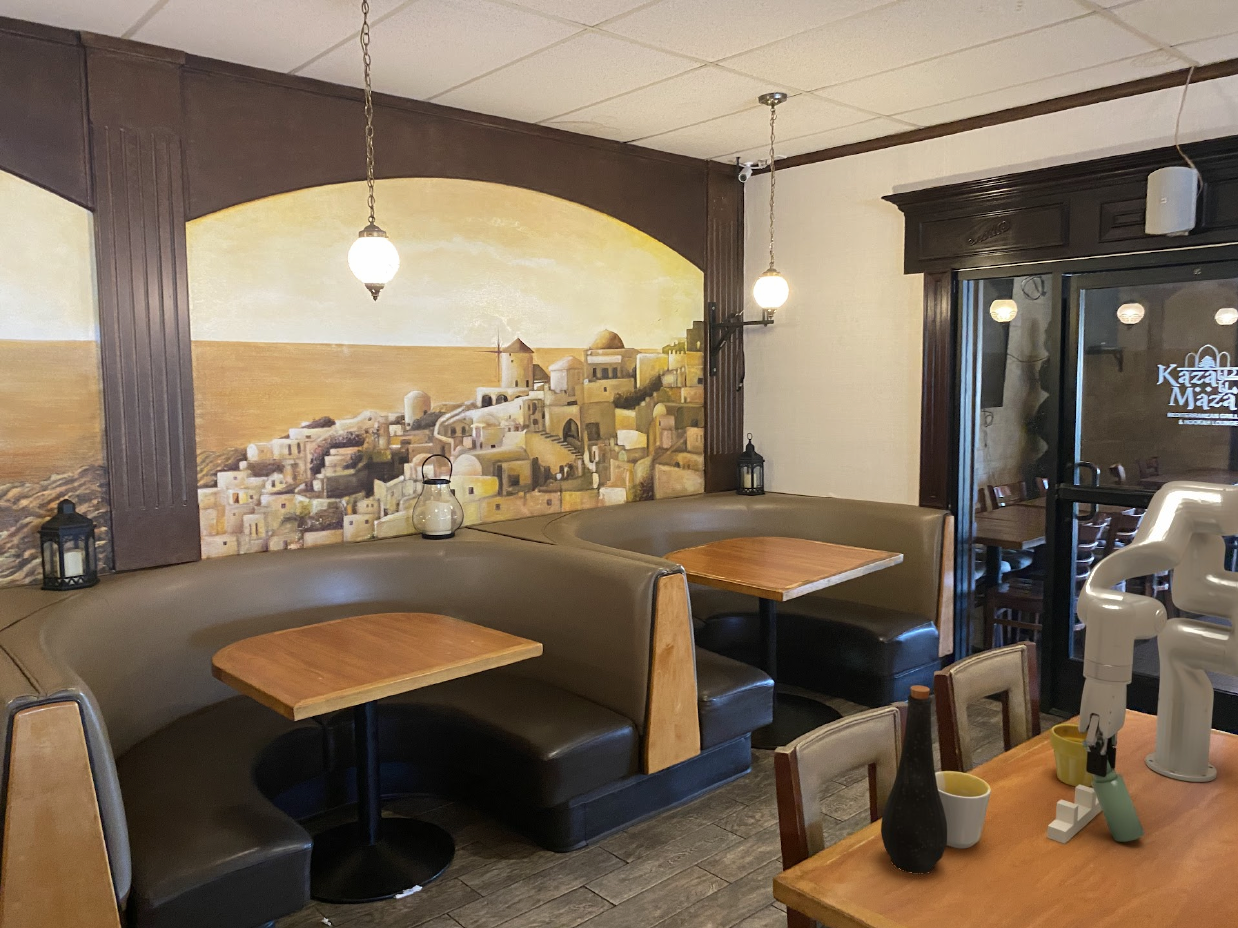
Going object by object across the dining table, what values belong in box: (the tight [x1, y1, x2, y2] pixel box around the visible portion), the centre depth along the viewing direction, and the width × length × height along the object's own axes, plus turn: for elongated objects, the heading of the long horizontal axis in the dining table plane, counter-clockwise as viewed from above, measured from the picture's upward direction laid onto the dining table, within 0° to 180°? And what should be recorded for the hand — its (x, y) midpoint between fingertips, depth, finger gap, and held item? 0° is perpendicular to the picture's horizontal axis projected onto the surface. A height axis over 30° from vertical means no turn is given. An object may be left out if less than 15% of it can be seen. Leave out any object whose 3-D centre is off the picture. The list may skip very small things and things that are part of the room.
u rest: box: [1046, 784, 1102, 845], centre depth 170 cm, size 18×3×5 cm, turn 134°
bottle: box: [880, 684, 947, 875], centre depth 155 cm, size 11×11×30 cm
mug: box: [935, 770, 992, 849], centre depth 164 cm, size 14×10×10 cm
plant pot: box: [1049, 723, 1099, 788], centre depth 188 cm, size 10×10×10 cm
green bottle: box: [1082, 739, 1145, 842], centre depth 165 cm, size 5×5×17 cm
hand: (1100, 769), depth 166 cm, fingers closed on green bottle, 3 cm apart
